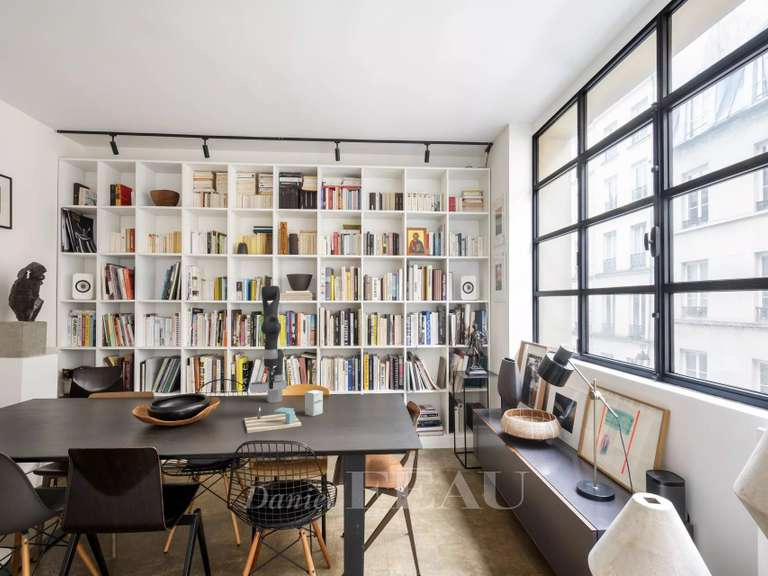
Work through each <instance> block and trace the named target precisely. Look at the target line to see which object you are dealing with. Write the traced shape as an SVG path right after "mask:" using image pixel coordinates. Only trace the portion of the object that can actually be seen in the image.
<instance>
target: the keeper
mask: <svg viewBox="0 0 768 576" xmlns="http://www.w3.org/2000/svg"><path fill="white" fill-rule="evenodd" d="M294 409H295V408H291V407H283V406H281V407H279V408H277V409H274V410H273V414H286V424H291V423H293V422H294V421H295V416H296V411H295V410H294Z"/></svg>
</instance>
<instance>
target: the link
mask: <svg viewBox="0 0 768 576" xmlns="http://www.w3.org/2000/svg"><path fill="white" fill-rule="evenodd" d="M287 384H288V381H287V380H283V379H282V381H274V382H273V389H269V382H268V381H263V380H262V381H253V382H252V381H251V382H249V392H250V393H264V392H268V391H269V390H280V389H282V390H287V387H288V385H287Z"/></svg>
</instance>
